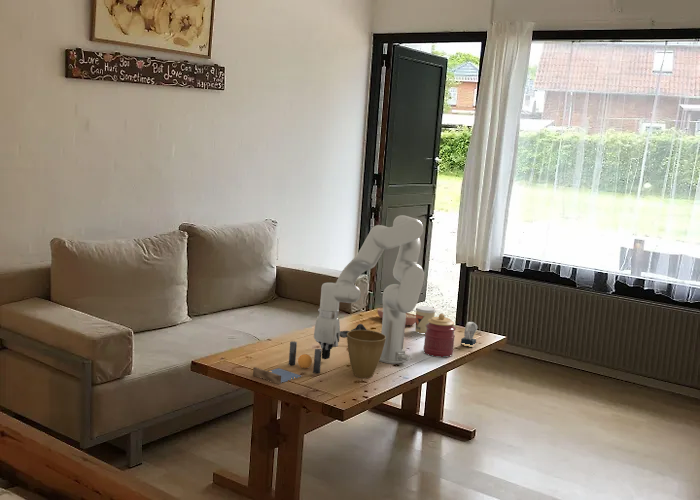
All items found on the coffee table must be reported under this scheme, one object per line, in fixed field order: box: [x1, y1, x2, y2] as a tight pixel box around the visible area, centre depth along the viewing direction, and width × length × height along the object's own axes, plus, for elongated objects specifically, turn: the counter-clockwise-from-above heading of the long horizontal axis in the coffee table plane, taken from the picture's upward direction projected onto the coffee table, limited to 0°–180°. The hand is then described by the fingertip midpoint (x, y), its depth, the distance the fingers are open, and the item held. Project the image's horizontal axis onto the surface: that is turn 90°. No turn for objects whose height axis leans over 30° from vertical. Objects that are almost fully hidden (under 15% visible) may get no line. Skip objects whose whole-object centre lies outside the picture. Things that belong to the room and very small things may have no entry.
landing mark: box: [270, 367, 302, 384], centre depth 284 cm, size 12×12×1 cm
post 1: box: [288, 340, 298, 366], centre depth 298 cm, size 3×3×9 cm
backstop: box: [252, 366, 282, 385], centre depth 278 cm, size 13×1×3 cm, turn 53°
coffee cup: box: [415, 305, 436, 333], centre depth 364 cm, size 9×9×12 cm
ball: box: [297, 353, 313, 369], centre depth 295 cm, size 6×6×6 cm
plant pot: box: [346, 329, 386, 379], centre depth 291 cm, size 15×15×16 cm
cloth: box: [340, 323, 367, 339], centre depth 349 cm, size 22×19×6 cm
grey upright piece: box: [460, 321, 478, 345], centre depth 347 cm, size 6×8×11 cm
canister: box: [423, 313, 456, 358], centre depth 330 cm, size 13×13×18 cm
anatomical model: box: [377, 307, 416, 326], centre depth 381 cm, size 23×10×5 cm, turn 49°
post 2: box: [312, 348, 322, 374], centre depth 291 cm, size 3×3×9 cm
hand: (325, 358), depth 305 cm, fingers closed
